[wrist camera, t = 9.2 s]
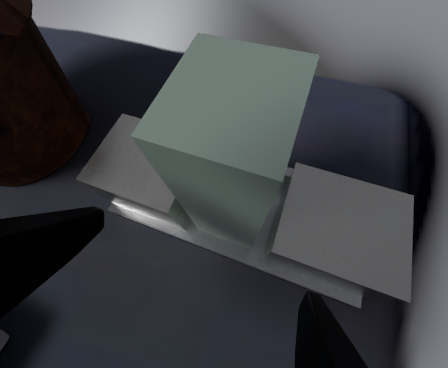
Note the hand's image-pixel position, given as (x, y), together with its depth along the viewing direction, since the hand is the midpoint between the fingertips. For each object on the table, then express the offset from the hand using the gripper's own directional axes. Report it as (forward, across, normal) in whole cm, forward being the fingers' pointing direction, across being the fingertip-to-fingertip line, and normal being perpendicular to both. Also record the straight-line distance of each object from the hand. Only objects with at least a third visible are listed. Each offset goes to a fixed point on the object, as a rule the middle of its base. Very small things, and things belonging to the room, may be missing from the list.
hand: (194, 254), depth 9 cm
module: (+9, 0, +2) cm, 10 cm away
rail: (+11, 0, +3) cm, 11 cm away
